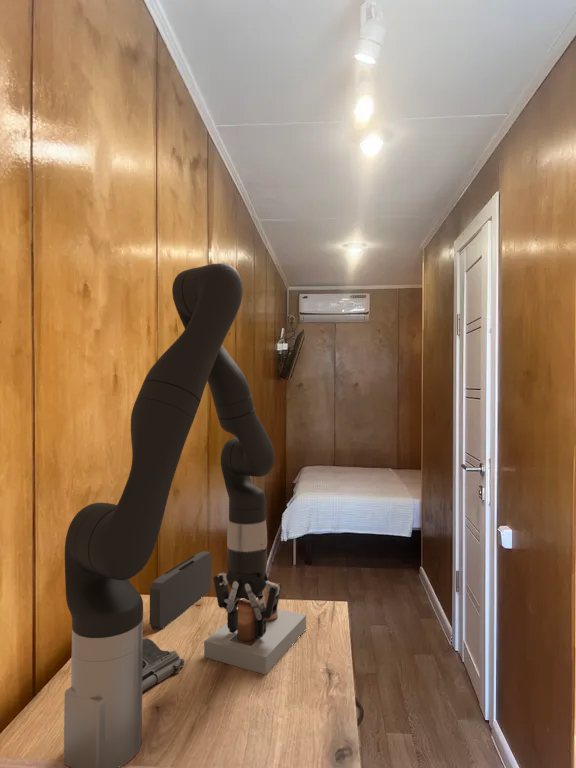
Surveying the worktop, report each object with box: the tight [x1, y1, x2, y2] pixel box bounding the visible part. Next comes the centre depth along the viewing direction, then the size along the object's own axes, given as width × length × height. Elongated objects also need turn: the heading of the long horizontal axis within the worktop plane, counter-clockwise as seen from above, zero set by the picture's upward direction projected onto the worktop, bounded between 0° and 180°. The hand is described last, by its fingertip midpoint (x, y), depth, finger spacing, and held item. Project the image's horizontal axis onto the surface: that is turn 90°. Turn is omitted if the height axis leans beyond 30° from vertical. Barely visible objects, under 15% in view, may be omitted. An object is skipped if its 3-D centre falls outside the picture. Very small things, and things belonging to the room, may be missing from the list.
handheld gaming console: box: [149, 551, 212, 630], centre depth 110 cm, size 23×3×10 cm, turn 161°
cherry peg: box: [237, 598, 256, 646], centre depth 91 cm, size 4×4×10 cm
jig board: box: [203, 582, 307, 676], centre depth 95 cm, size 18×13×10 cm
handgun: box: [142, 637, 185, 693], centre depth 83 cm, size 2×17×12 cm
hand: (246, 633), depth 91 cm, fingers open, 5 cm apart
